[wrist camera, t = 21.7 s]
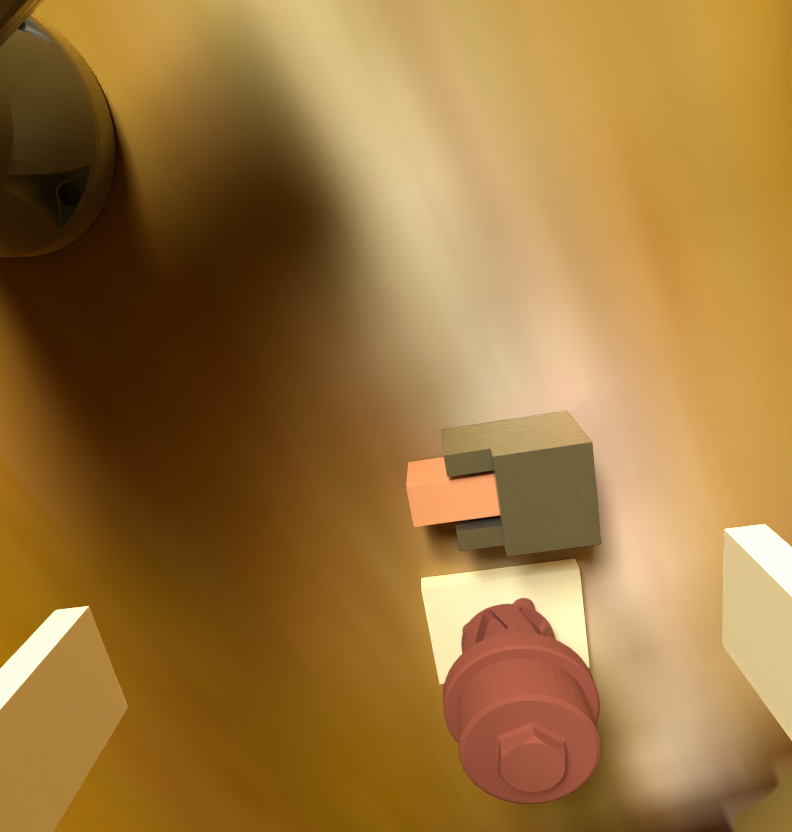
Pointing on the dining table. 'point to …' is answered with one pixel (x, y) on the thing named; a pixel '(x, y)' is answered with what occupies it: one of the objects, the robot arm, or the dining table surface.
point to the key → (448, 494)
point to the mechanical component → (521, 707)
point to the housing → (529, 483)
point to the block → (475, 591)
